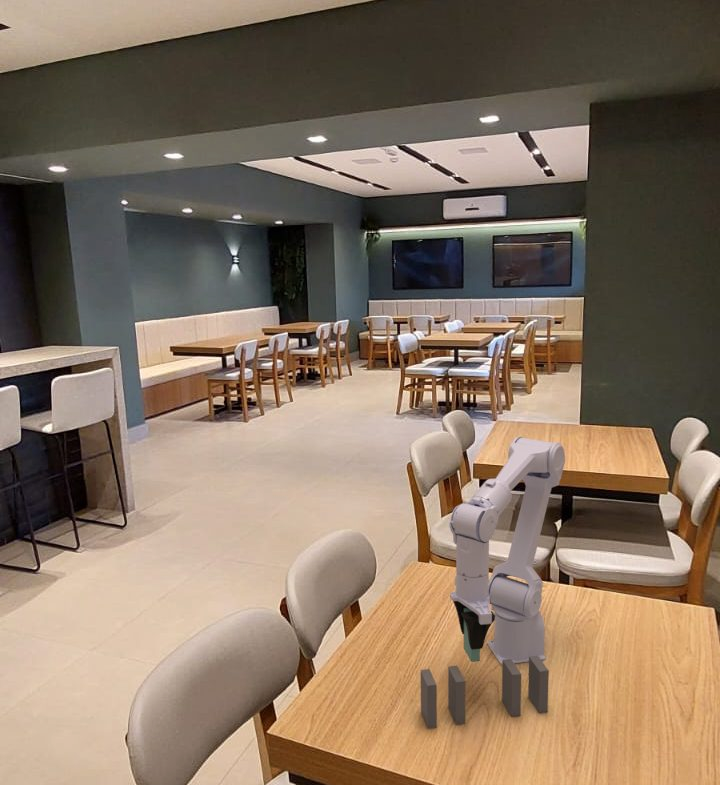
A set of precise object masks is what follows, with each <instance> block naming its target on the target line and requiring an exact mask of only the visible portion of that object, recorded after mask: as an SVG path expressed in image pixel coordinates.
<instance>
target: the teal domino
mask: <svg viewBox="0 0 720 785" xmlns="http://www.w3.org/2000/svg"><path fill="white" fill-rule="evenodd" d="M468 611H472V610H470V609H469V608H464V612H468ZM463 650H464V651H465V653H466V655H467V657H468V659H469V661H470V662H472V663H473V662H475V663H476V662H481V658H480V657H481V649H474V650H472V649H471V648H470V645H469V639H468V631H467V627H466V623H465V621H464V634H463Z"/></svg>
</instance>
